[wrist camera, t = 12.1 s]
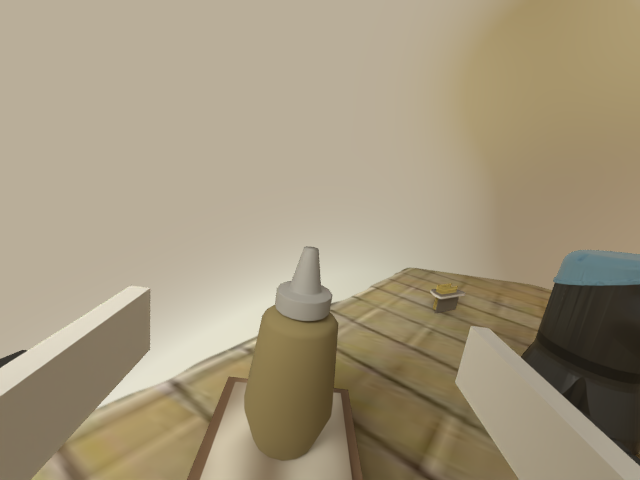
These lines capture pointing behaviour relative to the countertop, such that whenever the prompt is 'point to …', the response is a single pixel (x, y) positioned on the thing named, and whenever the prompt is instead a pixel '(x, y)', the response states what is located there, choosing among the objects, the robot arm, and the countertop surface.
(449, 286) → the platform
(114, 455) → the countertop surface
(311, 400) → the squeeze bottle
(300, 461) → the picture frame
